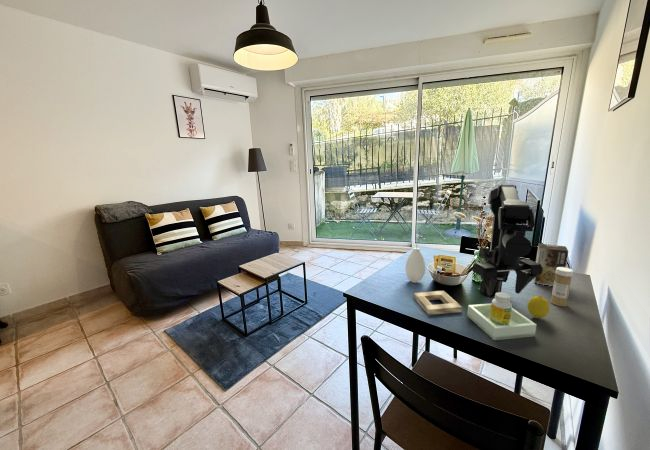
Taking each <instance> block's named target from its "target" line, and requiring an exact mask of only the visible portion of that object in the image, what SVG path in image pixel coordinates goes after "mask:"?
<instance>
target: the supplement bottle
mask: <svg viewBox="0 0 650 450" xmlns="http://www.w3.org/2000/svg"><path fill="white" fill-rule="evenodd" d="M491 303H492V304H491V312H490V321H491V322H492V323H493V324H494V325H496V326H503V325H509V322H510V315H511V309H512V308H513V307H512V306H513V305H512V302H511V295H510V294H509V293H505V292H503V291H501V292H497V293H495V297H493V299H492V300H491Z"/></svg>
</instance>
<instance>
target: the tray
mask: <svg viewBox="0 0 650 450" xmlns="http://www.w3.org/2000/svg"><path fill="white" fill-rule="evenodd" d="M491 304H492V302H491V303H479V304H477V303H476V304H468V306H467V314H466V316H467V317H468V318H469V319H470V321H472V323H474V324H475V325H477V327H479V329H480V330H482V331H483V332H484V333H485V334H486V335H487V336H488V337H490V339H492V340H493V341H500V340H501V341H502V340H511V339H512V340H513V339H521V338H522V339H523V338H531V337H535V335H536V332H537V326H538V325H537V323H535V322H533V320H531V319H529V318H528V317H526V316H525V315H523V314H522V313H521V312H519V311H517V310H516V308H513V307H512V309H511V315H510V322H509V325H503V326H496V325H494V324H493V323H492V322H491V321H490V312H491Z"/></svg>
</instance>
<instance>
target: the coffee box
mask: <svg viewBox="0 0 650 450" xmlns="http://www.w3.org/2000/svg"><path fill="white" fill-rule="evenodd" d="M568 255H569V250H568V248H567V246H565V245H555V244H545V243H538V245H537V251H536V258H535V262H536V263H539V264H541V266H542V268H543V270H542V274H538V276H537V277H535V278H534V281H533V284H534V283H538V284H543V285H542V286H544V285H551V286H554V280H555V276H556V268H557V267H565V268H567V260H568ZM538 284H537V285H538Z"/></svg>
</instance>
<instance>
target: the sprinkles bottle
mask: <svg viewBox="0 0 650 450" xmlns="http://www.w3.org/2000/svg"><path fill="white" fill-rule="evenodd" d="M573 274H574V270H573V269H571V268H569V267H557V268H556V276H555V280H554V286H553V287H552V290H551V292H552V293H551V299H550V303H551V304H552V305H554V306H557V307H566V306H567V305H568V304H567V302H568V298H569V293H570V286H571V281H572V277H573V276H574V275H573Z"/></svg>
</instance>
